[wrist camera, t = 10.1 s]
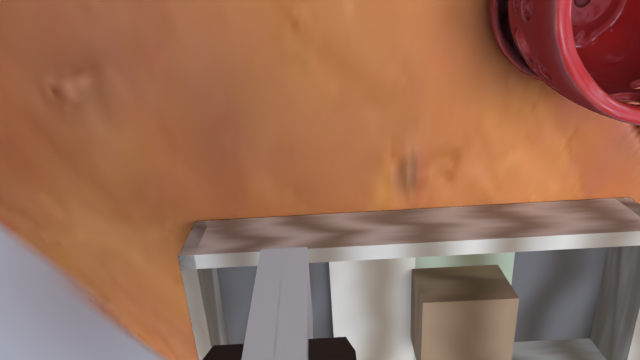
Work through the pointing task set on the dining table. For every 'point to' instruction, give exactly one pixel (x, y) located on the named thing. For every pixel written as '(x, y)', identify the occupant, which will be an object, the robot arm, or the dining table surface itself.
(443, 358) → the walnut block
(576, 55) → the plant pot
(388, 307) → the box
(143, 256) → the dining table surface
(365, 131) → the dining table surface
